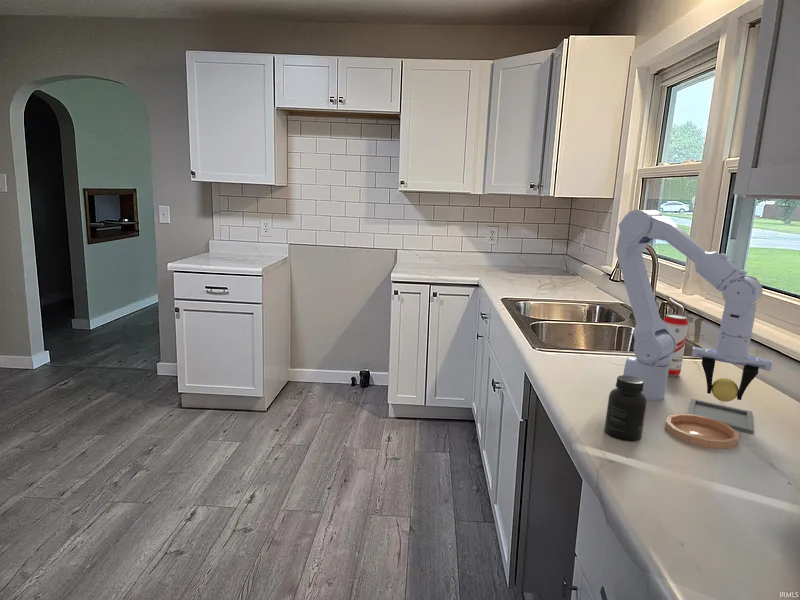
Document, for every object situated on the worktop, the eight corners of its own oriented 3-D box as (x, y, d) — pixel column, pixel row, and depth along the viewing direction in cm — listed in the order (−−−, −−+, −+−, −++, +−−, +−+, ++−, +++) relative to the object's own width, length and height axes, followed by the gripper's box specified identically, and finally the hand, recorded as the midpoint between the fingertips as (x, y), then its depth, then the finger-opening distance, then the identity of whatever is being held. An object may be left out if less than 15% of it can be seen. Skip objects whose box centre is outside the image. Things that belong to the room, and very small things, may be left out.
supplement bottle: (648, 444, 105) (657, 385, 102) (615, 445, 104) (624, 385, 101) (628, 429, 111) (636, 372, 109) (597, 429, 110) (604, 373, 108)
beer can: (684, 375, 147) (694, 317, 144) (671, 379, 144) (681, 319, 140) (662, 368, 152) (671, 312, 149) (649, 371, 149) (658, 314, 145)
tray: (685, 421, 117) (687, 415, 116) (690, 404, 127) (691, 398, 126) (752, 437, 111) (753, 430, 110) (751, 417, 121) (752, 411, 120)
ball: (708, 401, 117) (712, 379, 116) (710, 394, 121) (714, 373, 120) (735, 407, 114) (740, 384, 113) (736, 400, 118) (740, 378, 117)
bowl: (661, 439, 107) (663, 429, 107) (668, 418, 118) (670, 408, 117) (736, 458, 101) (738, 447, 100) (736, 434, 111) (738, 424, 111)
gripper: (694, 331, 115) (684, 392, 118) (777, 344, 108) (764, 409, 111) (697, 325, 121) (687, 383, 124) (775, 337, 114) (763, 399, 116)
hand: (723, 395), depth 118 cm, fingers closed on ball, 5 cm apart
